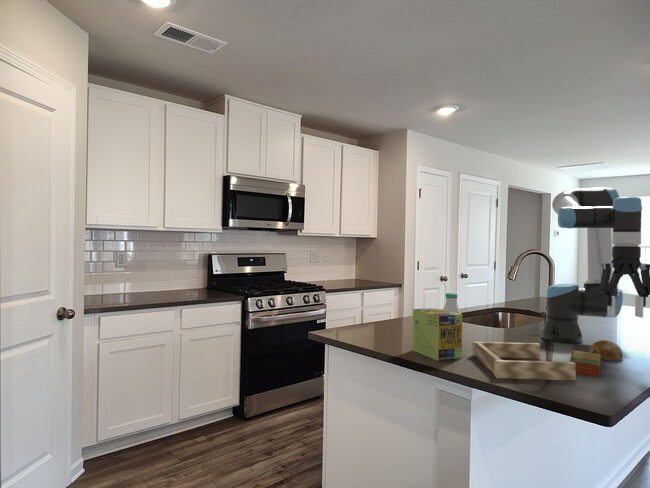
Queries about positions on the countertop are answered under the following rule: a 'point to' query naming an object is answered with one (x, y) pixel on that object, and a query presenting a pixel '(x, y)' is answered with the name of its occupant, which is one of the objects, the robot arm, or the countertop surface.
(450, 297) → the milk bottle
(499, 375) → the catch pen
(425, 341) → the protein box
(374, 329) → the countertop surface
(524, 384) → the countertop surface
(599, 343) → the bread roll
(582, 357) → the carton
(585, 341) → the countertop surface
